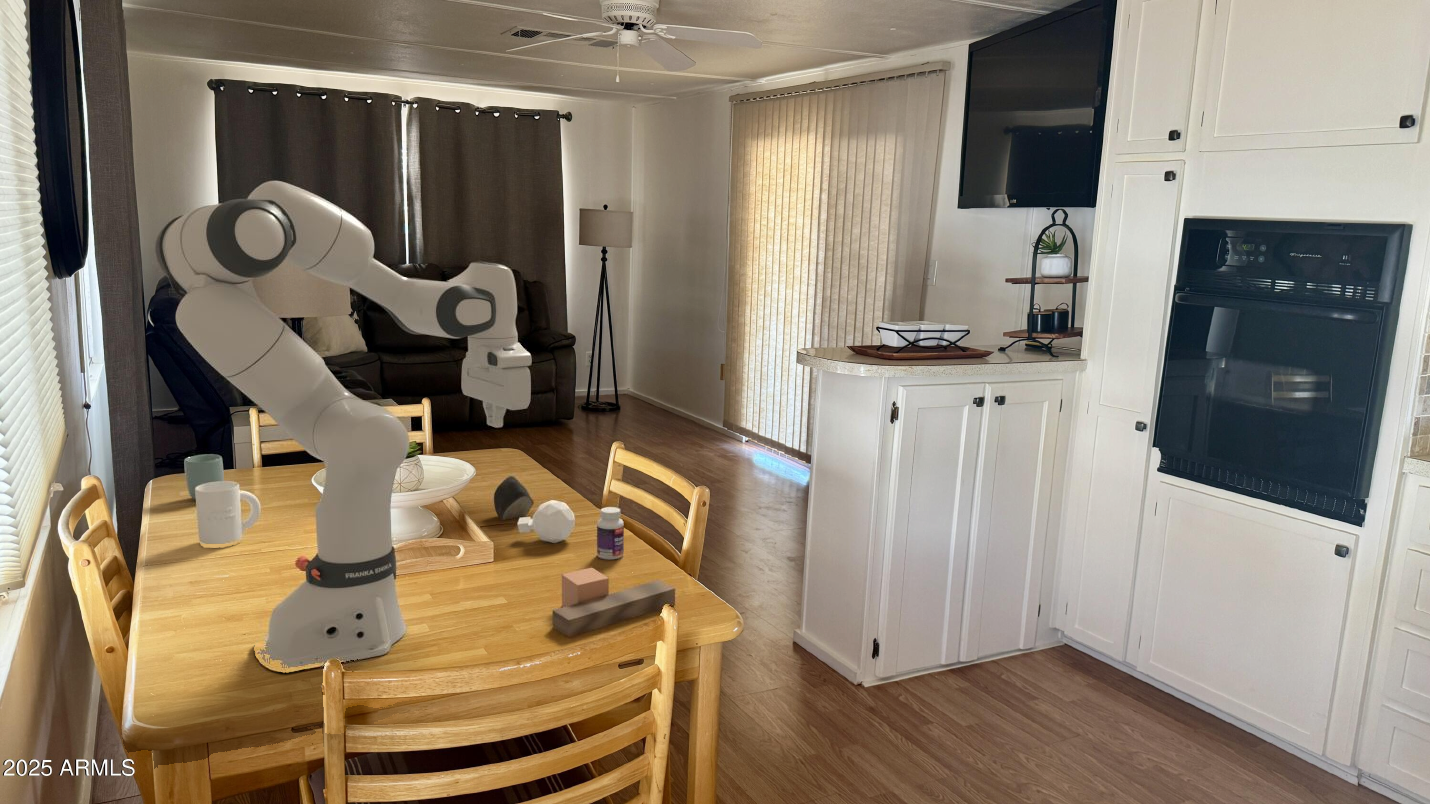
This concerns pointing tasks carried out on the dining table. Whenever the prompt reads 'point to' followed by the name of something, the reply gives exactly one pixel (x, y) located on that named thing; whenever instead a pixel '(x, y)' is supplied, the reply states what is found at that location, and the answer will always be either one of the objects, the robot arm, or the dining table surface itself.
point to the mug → (223, 512)
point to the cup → (202, 471)
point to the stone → (512, 499)
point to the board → (612, 608)
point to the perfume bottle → (549, 522)
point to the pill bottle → (610, 534)
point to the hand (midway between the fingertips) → (495, 426)
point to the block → (583, 586)
